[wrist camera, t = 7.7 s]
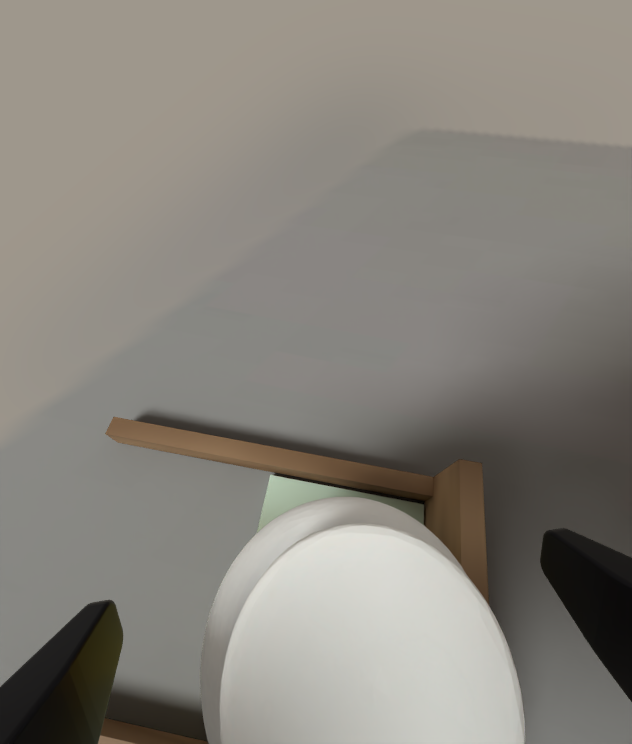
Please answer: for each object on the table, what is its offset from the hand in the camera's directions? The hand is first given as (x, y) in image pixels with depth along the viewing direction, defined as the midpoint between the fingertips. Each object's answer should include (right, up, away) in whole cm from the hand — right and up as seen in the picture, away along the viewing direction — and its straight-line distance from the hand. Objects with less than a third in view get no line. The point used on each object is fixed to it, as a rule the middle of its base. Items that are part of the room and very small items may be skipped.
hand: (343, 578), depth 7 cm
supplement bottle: (0, -5, +6) cm, 8 cm away
